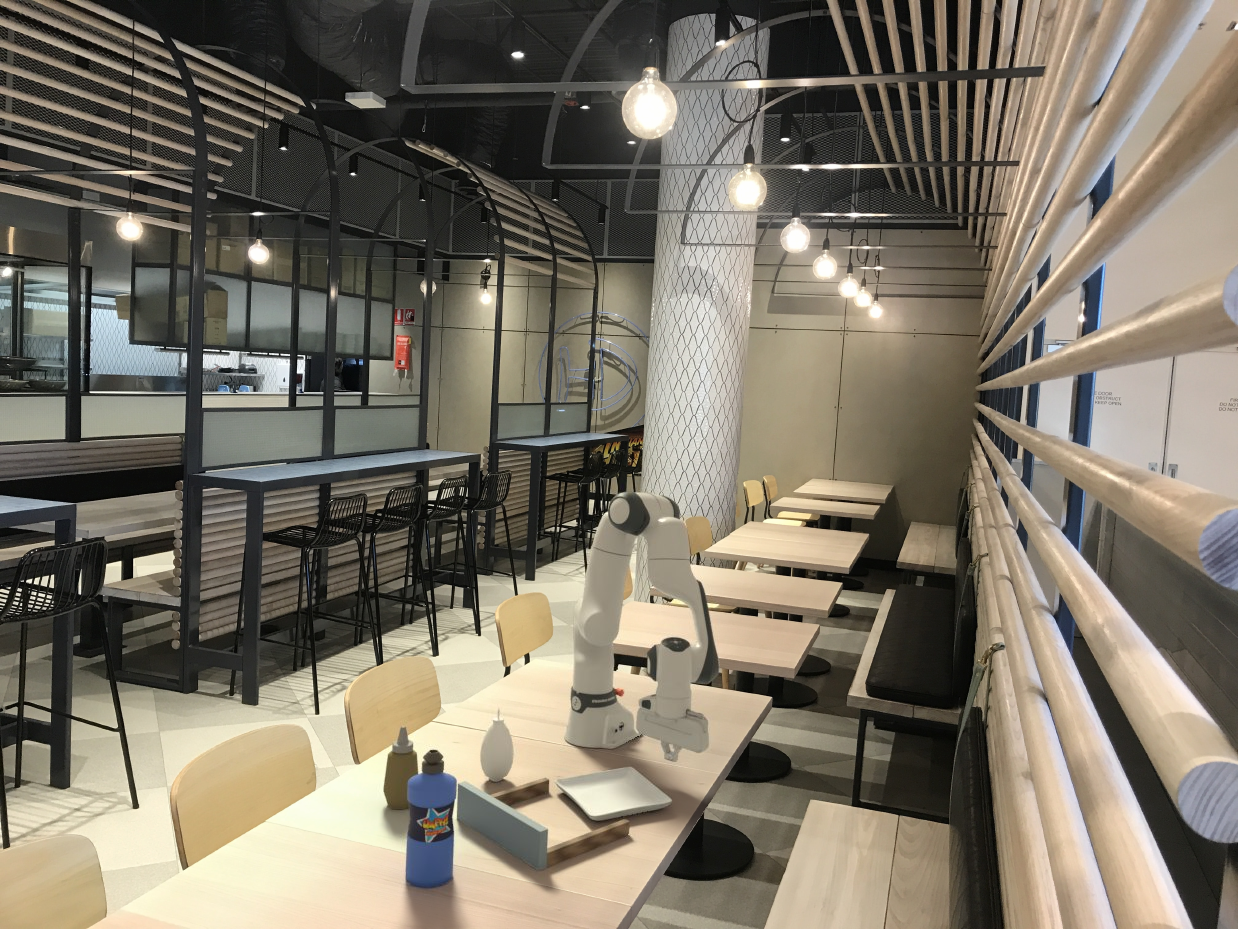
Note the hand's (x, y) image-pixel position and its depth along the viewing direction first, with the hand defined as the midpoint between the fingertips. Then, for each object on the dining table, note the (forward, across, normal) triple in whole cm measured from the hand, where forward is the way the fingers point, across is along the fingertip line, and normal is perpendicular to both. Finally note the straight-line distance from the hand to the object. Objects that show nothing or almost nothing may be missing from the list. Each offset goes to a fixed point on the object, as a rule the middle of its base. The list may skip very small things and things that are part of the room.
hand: (671, 760), depth 235 cm
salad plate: (+6, +3, +18) cm, 20 cm away
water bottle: (+6, +6, +70) cm, 70 cm away
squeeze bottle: (+5, +35, +55) cm, 65 cm away
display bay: (+6, +5, +39) cm, 40 cm away
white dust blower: (+6, +30, +30) cm, 43 cm away
